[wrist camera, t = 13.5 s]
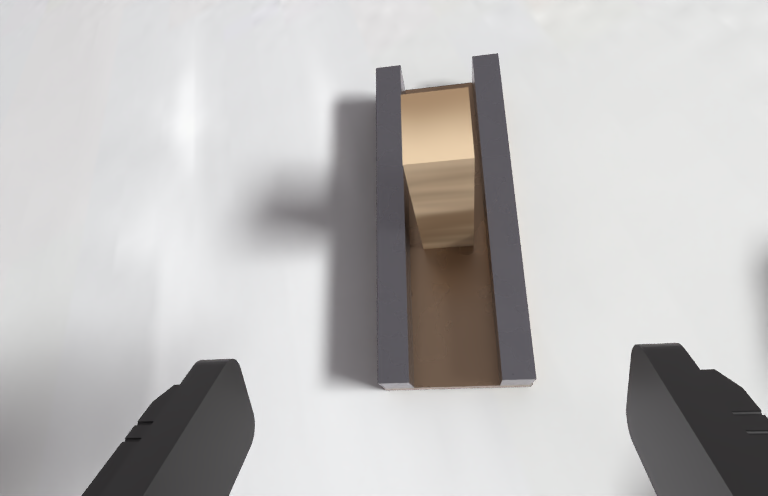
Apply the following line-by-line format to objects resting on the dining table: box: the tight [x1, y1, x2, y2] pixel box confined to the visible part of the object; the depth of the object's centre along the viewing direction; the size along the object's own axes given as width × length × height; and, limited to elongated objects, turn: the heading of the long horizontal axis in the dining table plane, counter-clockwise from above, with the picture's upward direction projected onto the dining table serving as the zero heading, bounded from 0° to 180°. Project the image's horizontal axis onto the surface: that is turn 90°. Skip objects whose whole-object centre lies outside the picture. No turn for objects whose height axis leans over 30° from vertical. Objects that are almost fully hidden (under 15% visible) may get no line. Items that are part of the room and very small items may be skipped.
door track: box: [376, 53, 536, 390], centre depth 30 cm, size 20×8×4 cm, turn 1°
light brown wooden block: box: [401, 87, 475, 249], centre depth 26 cm, size 4×3×10 cm
